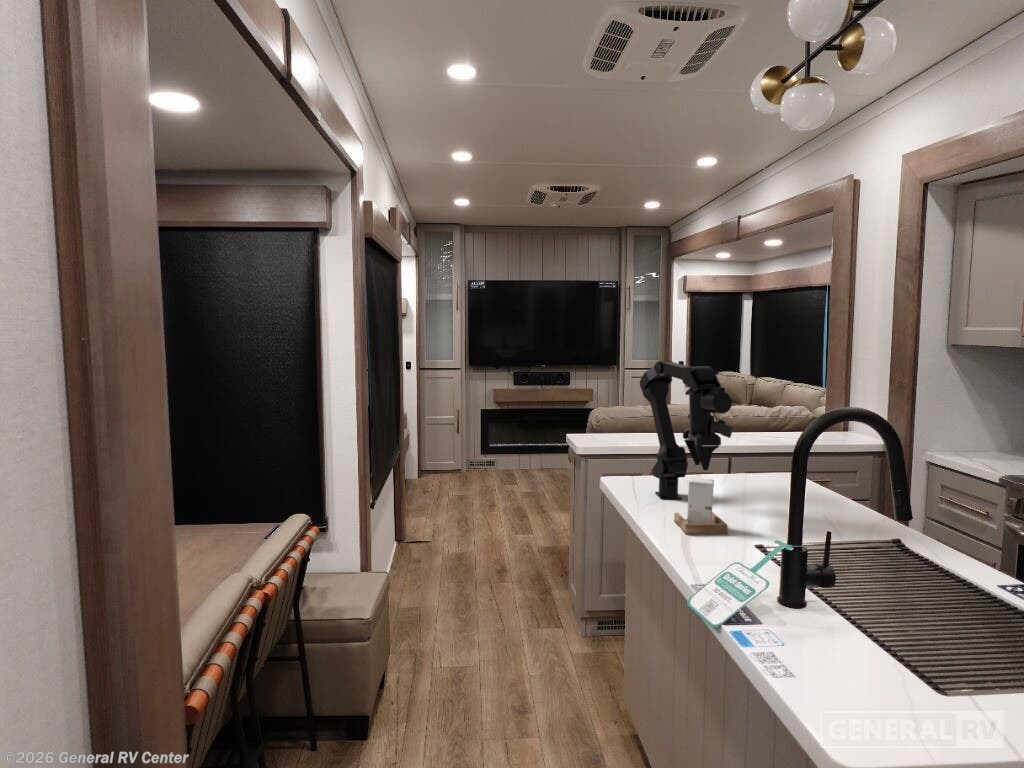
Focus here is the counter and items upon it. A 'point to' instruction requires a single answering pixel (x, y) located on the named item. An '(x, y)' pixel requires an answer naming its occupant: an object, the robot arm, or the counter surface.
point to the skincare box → (700, 501)
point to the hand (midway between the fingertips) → (701, 467)
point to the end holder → (701, 526)
